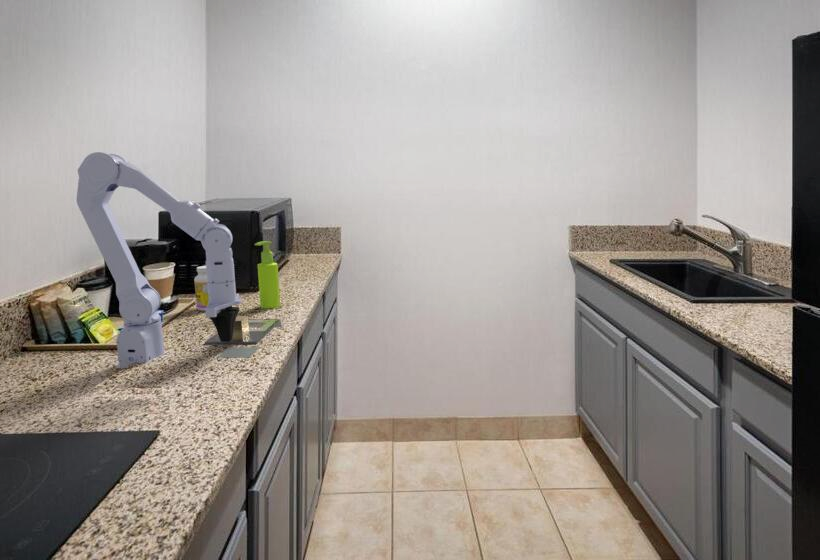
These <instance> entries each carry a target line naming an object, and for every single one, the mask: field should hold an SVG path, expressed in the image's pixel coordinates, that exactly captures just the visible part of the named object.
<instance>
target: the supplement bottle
mask: <svg viewBox="0 0 820 560" xmlns="http://www.w3.org/2000/svg"><path fill="white" fill-rule="evenodd" d="M196 272H197V275H196V276H195V277H194V279H193V281H194V282H193V283H194V289H195V290H194V292H195V302H196V309H197V310H198V311H201V312H205V308H207V306H208V302H209V294H208V283H207V271H206V265H201V266H197V267H196Z"/></svg>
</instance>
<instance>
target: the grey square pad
mask: <svg viewBox="0 0 820 560" xmlns="http://www.w3.org/2000/svg"><path fill="white" fill-rule="evenodd" d="M260 348H261V347H260V346H257V347H256V346H253V347H251V346H240V347H239V346H238V347H236V346H232V347H231V346H230V347H228V348H227V349H225V350H223V352H222V353H220V354H219V355H218V356H217V357H216V358H217V359H219V358H220V359H222V358H223V359H225V358H226V359H227V358H228V359H229V358H230V359H231V358H237V359H240V358H243V359H244V358H245V359H247V358H251V357H252V356H253V355H254V354H255V353H256V352H257V351H258V350H259V349H260Z"/></svg>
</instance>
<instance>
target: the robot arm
mask: <svg viewBox="0 0 820 560" xmlns="http://www.w3.org/2000/svg"><path fill="white" fill-rule="evenodd" d="M77 175H78V184H77V192H76V193H77V194H76V204H77V206H78V209H79V211H80V213H81V215H82V217H83V219H84V221H85V223H86V225H87V227H88V229H89V231H90V233H91V235H92V238H93V239H94V242H95V243H96V246H97V247H98V249H99V252H100V254H101V256H102V258H103V259H104V261H105V264H106V266H107V267H108V268H107V269H108V270H109V271H110V274H111V276H112V278H113V280H114V282H115V295H116V297H117V300H118V302H119V304H118V305H119V308H118V310H119V315H120V316H121V317H122V319H123V328H122V330H120V332H119V333H118V335H117V337H116V349H117V354H118V355H117V356H118V364H117V365H116V366H115V369H117V370H118V369H119V370H120V369H125V368H126V367H128V366H130V365H132V364H134V363H135V364H139V363H140V364H147V363H149V362H150V361H152V360H153V359H155V358H158V357H160V356H162V355H164V353H165V345H164V344H165V343H164V336H163V325H162V317H161V315H160V314H159V312H158V311H157V310H158V309H159V308H160V307H161V304H162V303H161V302H162V299H161V295H160V293H159V292H158V291H157V289H155V288H154V287H152V286H151V284H150V283H149V280H148V279H147V278H146V277H145V275H143V274H142V273H141V271H140V268H139V267H138V264H137V262H136V260H135V258H134V256H133V254H132V251H131V250H130V247H129V246H128V244H127V241H126V239H125V237H124V235H123V233H122V231H121V229H120V227H119V224H118V223H117V220H116V218H115V216H114V214H113V212H112V210H111V207H110V206H109V203H110V200H111V198H112V196H113V194H114V193H115V191H116V190H117V189H118V188H119V187H123V188H127V189H134V190H137V191H138V192H139V193H141V194H142V195H144V196H145V197H146V198H147V199H149V200H151V201H152V202H153V203H155V204H157V205H158V206H159V207H161V208H162V209H164V210H165V211H166V212H168V213H169V215H170V221H171V223H173V224H174V225H176V227H178V228H179V229H180V230H182V231H184V232H185V233H186V234H187V235H189V236H190V237H192V238H193V239H194V240H195V241H200V242H201V245H202V248H203V249H204V250H205V259H206V260H205V266H206V271H207V283H208V294H209V302H208V306H207V308H205V311H204V312H205V318H208V319H210V320H211V321H212V323H213V325H214V328H215V330H216V331H217V333H218V335H219V338H220V341H221V342H230V341H231V340H232V337H233V330H234V324H235V320H236V317H237V316H238V314H239V312H240V307H239V306H235V305H241V304H242V303H243V300H242V299H240V294H239V293H237V289H236V288H237V287H236V277H235V276H236V275H235V273H236V272H235V265H234V264H235V263H234V258H233V249H232V247H231V246H232V243H233V239H234V238H233V234H232V232H231V230H230V229H229V228H228V227H227V226H226V225H225V224H221V223H219V222H220V220H219V219H218V218H212V217H211V216H210V215H209V214H207V213H206V212H204V210H202V209H201V205H200V204H199V203H198V202H192V201H190V200H184V201H181V200H179V199H178V198H177V197H175V196H174V195H173V194H172V193H170V192H169V191H168V190H167V189H165V188H164V187H163V186H162V185H160V183H158V182H157V181H156V180H155V179H153V178H152V177H150V176H149V174H147V173H146V172H145V171H143V170H142V169H140V168H139V167H137V166H136V165H134V164H132V163H131V162H129V161H126V160H125V159H124V157H122V156H120V155H117V154H113V153H109V154H108V153H106V152H101V151H97V152H92V153H90V154H87V156H85V158H84V159H83V160H82V162H81V163H80V165H79V167H78V168H77Z"/></svg>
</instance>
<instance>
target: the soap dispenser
mask: <svg viewBox="0 0 820 560" xmlns="http://www.w3.org/2000/svg"><path fill="white" fill-rule="evenodd" d="M270 244H273V242H272V241H271V240H270V241H268V240H265V241H263V240H262V241H258V242H256V243H254V246H259V247H260V246H262V245H263V251H261V253H260V258H261V259H260V260H261V262H260V263H258V264H257V275H258V276H257V277H258V291H259V304H260V308H261V309H277V308H279V307H281V298H280V281H279V267H278V266H279V265H278V263H277V262H274V258H273V257H274V254H273V251H271V250H270Z"/></svg>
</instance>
